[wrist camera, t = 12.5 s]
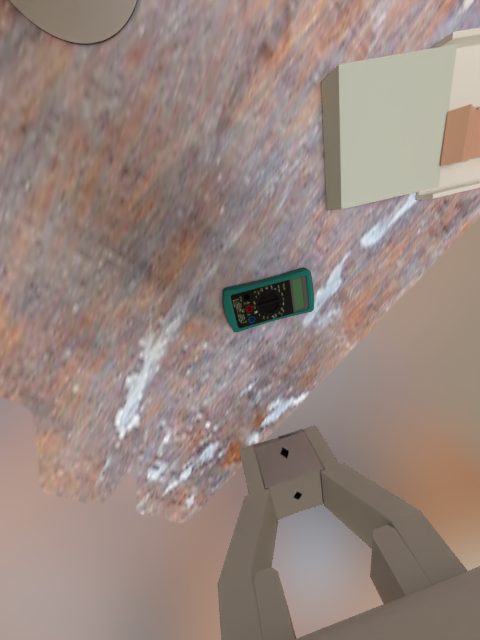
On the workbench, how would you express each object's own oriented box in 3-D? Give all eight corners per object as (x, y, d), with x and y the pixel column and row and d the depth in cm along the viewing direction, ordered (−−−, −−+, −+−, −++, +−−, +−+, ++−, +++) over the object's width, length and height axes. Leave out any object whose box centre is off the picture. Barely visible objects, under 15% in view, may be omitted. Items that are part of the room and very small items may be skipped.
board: (321, 82, 31) (338, 64, 27) (426, 63, 32) (457, 44, 28) (326, 210, 37) (341, 209, 33) (414, 189, 38) (438, 186, 35)
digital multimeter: (218, 288, 39) (220, 294, 36) (305, 266, 40) (313, 269, 37) (229, 328, 42) (231, 335, 39) (309, 306, 43) (316, 311, 41)
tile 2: (447, 111, 31) (471, 103, 29) (456, 116, 34) (477, 109, 33) (440, 165, 33) (461, 161, 32) (449, 165, 37) (468, 161, 35)
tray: (430, 48, 31) (453, 32, 29) (512, 34, 32) (541, 17, 30) (415, 199, 39) (432, 198, 36) (482, 184, 40) (503, 181, 37)
